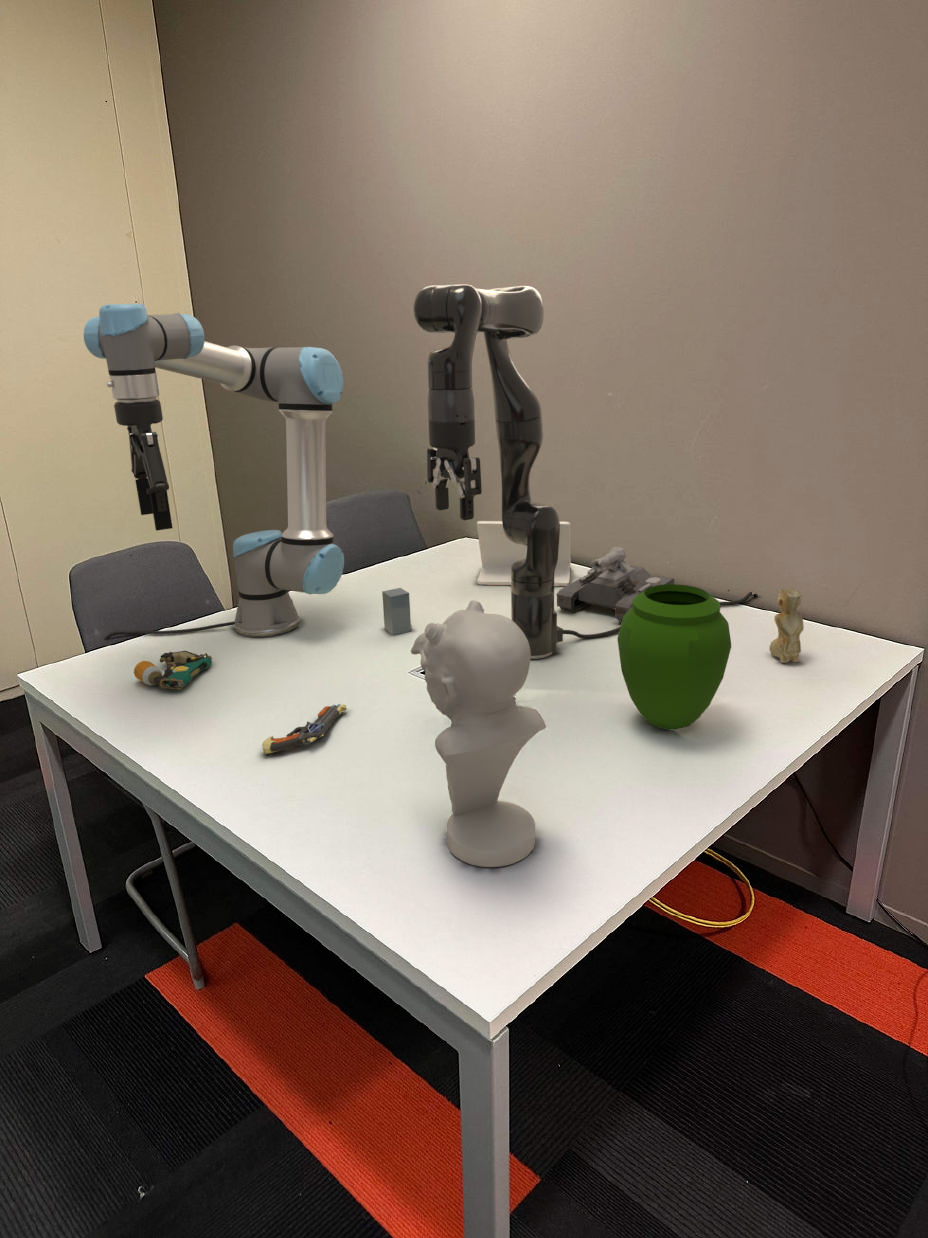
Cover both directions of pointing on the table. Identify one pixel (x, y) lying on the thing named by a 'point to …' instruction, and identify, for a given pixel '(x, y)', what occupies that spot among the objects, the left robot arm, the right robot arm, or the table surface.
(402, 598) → the block
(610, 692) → the table surface
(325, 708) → the toy gun
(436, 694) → the bust sculpture
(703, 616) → the vase
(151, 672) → the spray gun
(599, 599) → the toy
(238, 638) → the table surface
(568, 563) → the tablet stand
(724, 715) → the table surface
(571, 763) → the table surface
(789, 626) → the sculpture
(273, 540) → the left robot arm
